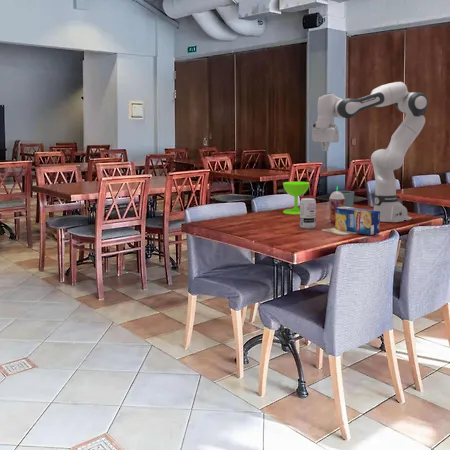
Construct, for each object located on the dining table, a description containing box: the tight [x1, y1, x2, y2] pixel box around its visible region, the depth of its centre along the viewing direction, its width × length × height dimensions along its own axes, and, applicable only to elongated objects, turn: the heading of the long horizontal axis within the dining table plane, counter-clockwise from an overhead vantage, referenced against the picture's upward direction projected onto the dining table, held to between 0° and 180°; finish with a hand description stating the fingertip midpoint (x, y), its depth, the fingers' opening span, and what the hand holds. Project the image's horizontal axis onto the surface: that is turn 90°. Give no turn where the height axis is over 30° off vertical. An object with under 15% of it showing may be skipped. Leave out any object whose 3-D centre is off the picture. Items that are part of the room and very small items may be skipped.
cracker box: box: [334, 207, 381, 236], centre depth 280 cm, size 7×11×22 cm
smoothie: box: [328, 185, 345, 224], centre depth 307 cm, size 8×8×20 cm
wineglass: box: [282, 181, 310, 215], centre depth 345 cm, size 16×16×18 cm
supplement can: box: [299, 197, 317, 229], centre depth 296 cm, size 8×8×15 cm
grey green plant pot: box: [338, 190, 355, 208], centre depth 346 cm, size 10×10×12 cm
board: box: [321, 227, 361, 237], centre depth 284 cm, size 16×15×1 cm
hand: (325, 150), depth 302 cm, fingers closed
